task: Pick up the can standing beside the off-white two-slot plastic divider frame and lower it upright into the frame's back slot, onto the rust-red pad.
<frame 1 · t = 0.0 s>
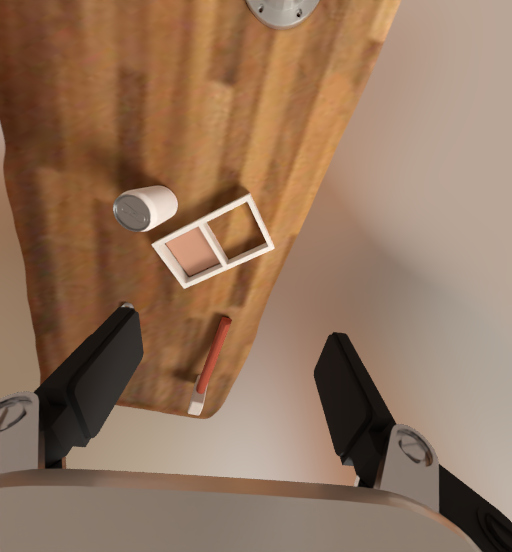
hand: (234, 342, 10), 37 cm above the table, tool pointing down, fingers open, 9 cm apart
mallet: (212, 352, 63), on the table
can: (162, 202, 43), on the table
caddy: (215, 242, 47), on the table
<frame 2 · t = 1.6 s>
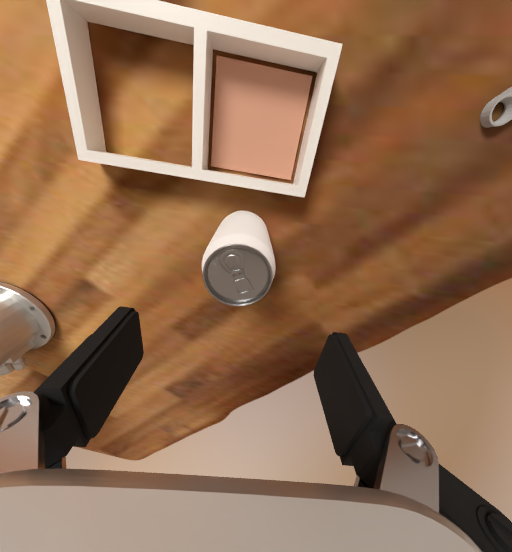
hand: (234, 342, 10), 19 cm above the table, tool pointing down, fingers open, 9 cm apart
can: (243, 234, 28), on the table
caddy: (205, 114, 21), on the table
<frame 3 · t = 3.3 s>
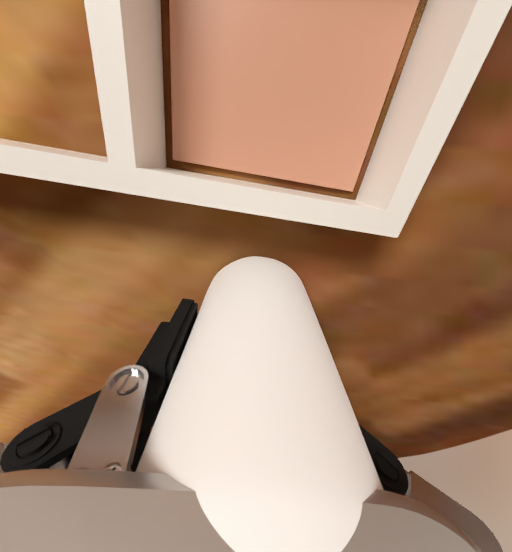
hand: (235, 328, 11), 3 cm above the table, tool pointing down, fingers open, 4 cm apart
can: (256, 296, 14), on the table, touching gripper
caddy: (148, 23, 8), on the table
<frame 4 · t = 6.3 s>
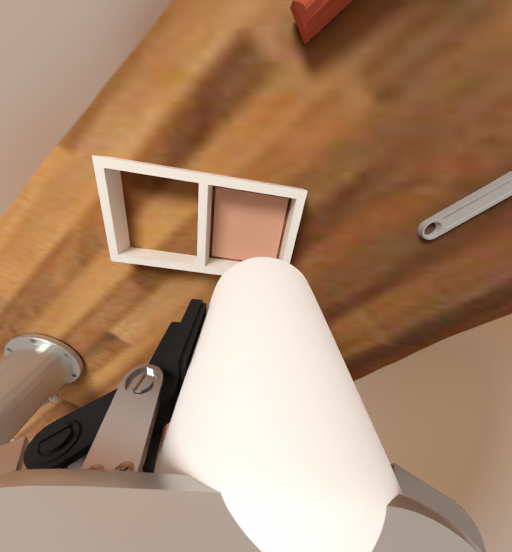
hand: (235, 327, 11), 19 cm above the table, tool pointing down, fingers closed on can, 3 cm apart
can: (262, 296, 14), point 16 cm above the table, touching gripper
caddy: (207, 222, 28), on the table
when the fingers open (4 cm above the table, at t = 8.8 s): can drops 1 cm, resting on caddy.
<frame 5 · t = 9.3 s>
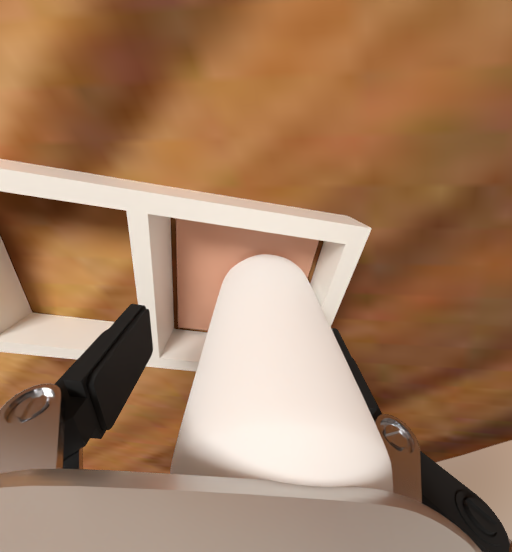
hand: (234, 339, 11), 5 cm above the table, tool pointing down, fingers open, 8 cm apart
can: (264, 291, 16), resting on caddy
caddy: (165, 274, 15), on the table
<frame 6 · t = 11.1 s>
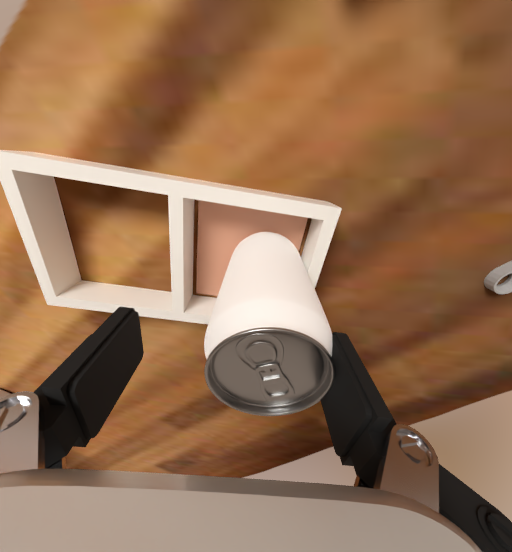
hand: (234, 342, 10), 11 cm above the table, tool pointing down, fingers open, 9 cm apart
can: (265, 263, 20), resting on caddy
caddy: (188, 248, 19), on the table
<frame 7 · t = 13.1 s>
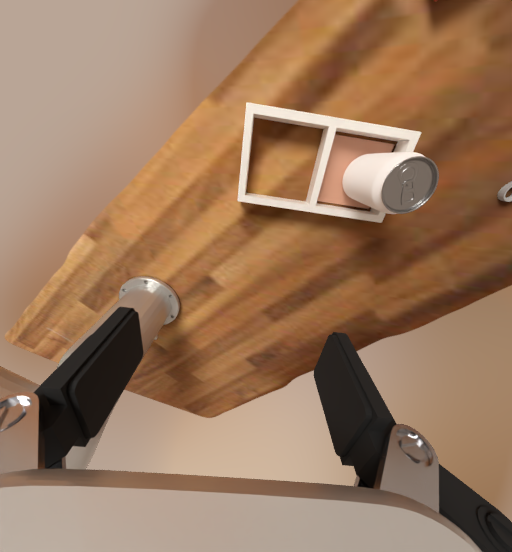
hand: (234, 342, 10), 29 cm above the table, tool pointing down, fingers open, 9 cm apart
can: (362, 177, 33), resting on caddy
caddy: (317, 168, 32), on the table
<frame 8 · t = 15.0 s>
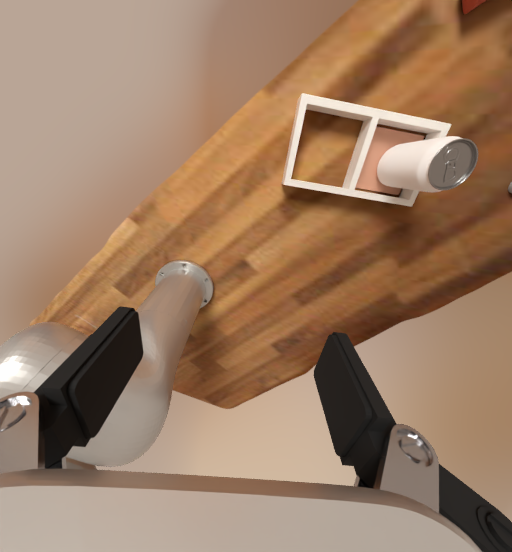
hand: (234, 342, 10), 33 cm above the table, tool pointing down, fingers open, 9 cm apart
can: (394, 166, 36), resting on caddy
caddy: (354, 157, 36), on the table
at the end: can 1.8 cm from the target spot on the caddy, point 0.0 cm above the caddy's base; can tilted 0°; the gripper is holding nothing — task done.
